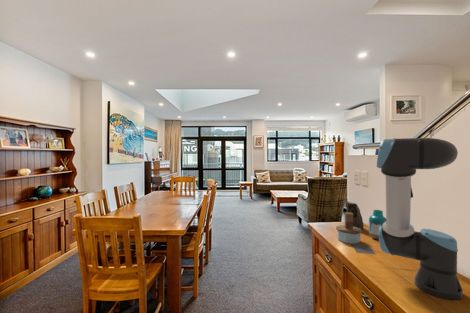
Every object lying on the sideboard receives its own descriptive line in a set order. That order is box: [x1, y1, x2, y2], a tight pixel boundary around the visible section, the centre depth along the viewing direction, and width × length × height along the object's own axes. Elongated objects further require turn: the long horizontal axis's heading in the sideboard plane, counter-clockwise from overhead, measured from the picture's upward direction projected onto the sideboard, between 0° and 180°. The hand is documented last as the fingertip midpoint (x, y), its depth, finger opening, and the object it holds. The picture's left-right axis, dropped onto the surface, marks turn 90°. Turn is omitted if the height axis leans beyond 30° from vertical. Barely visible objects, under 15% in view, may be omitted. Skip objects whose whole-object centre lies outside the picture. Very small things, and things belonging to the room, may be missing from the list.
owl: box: [345, 201, 364, 231], centre depth 187 cm, size 13×13×20 cm
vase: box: [368, 209, 386, 241], centre depth 162 cm, size 11×11×19 cm
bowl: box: [336, 230, 362, 245], centre depth 157 cm, size 13×13×7 cm
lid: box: [335, 211, 363, 234], centre depth 157 cm, size 15×15×11 cm
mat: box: [351, 243, 377, 255], centre depth 142 cm, size 14×10×1 cm
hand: (401, 207), depth 134 cm, fingers open, 13 cm apart
